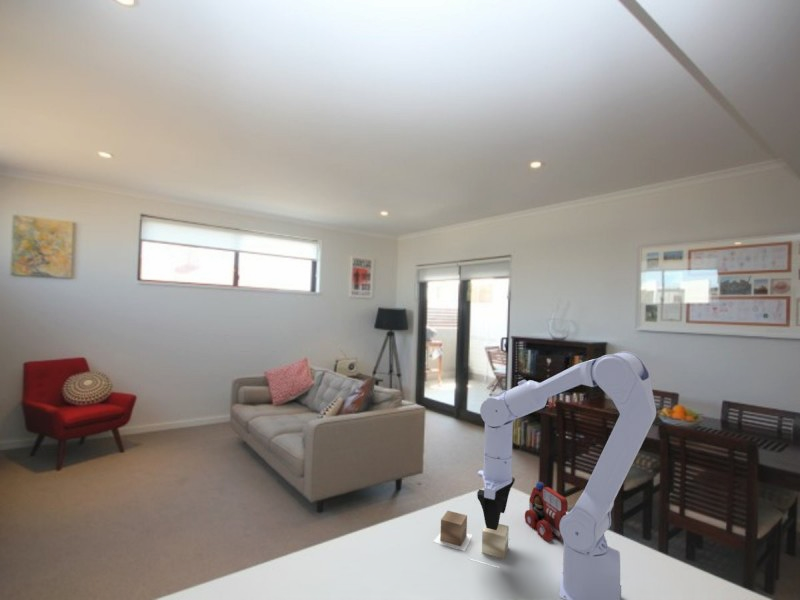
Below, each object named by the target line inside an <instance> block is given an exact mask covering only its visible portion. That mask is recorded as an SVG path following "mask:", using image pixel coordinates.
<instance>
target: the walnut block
mask: <svg viewBox="0 0 800 600" xmlns="http://www.w3.org/2000/svg"><path fill="white" fill-rule="evenodd" d="M467 529H468V515H467V514H463V513H459V512H455V511H452V510H451V511H450V510H447V511H446V512H445V514H444V515H443V516H442V518H440V532H441V535H440V541H443V542H447V543H450V544H454V545H457V546H461V545H462V543H463V541H464V540H465V538H466V536H467V533H468V532H467V531H468V530H467Z"/></svg>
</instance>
